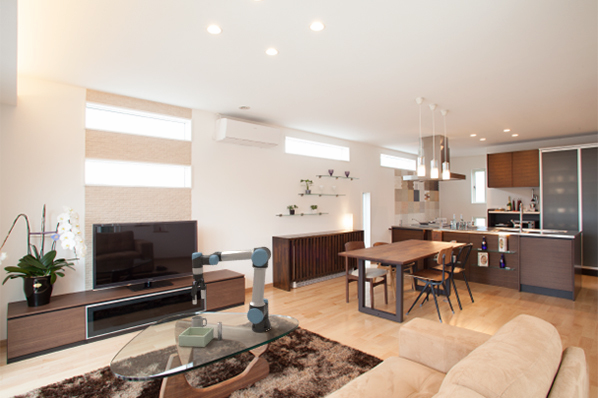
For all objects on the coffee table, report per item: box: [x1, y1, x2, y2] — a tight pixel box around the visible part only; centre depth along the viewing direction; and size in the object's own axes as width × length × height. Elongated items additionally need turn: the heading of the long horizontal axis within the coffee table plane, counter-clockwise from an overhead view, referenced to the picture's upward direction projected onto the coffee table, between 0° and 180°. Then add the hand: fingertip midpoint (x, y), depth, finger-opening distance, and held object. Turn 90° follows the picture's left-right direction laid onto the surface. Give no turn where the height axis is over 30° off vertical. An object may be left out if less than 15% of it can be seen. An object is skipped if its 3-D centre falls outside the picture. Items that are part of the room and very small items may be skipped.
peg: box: [216, 321, 223, 341], centre depth 241 cm, size 3×3×12 cm
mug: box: [190, 315, 208, 328], centre depth 257 cm, size 12×8×11 cm
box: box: [177, 326, 215, 348], centre depth 238 cm, size 19×16×7 cm
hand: (199, 301), depth 251 cm, fingers open, 13 cm apart
